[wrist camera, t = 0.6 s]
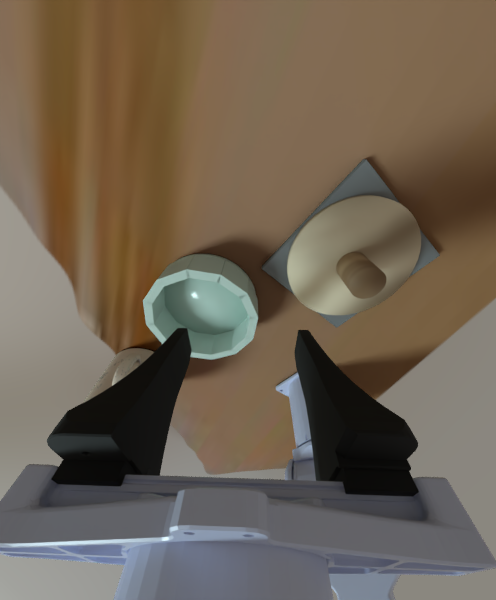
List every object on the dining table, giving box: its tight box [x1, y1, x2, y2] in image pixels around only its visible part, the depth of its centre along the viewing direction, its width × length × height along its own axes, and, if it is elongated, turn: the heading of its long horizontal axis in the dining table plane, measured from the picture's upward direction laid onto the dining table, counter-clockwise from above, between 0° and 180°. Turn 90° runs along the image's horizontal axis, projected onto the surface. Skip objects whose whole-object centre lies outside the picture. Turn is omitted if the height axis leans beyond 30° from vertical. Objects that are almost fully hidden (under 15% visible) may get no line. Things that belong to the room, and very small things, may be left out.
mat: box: [262, 159, 440, 327], centre depth 21 cm, size 12×12×1 cm
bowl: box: [143, 253, 258, 360], centre depth 23 cm, size 11×11×4 cm
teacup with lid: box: [83, 348, 154, 403], centre depth 26 cm, size 12×9×12 cm
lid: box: [287, 195, 421, 315], centre depth 19 cm, size 12×12×4 cm
